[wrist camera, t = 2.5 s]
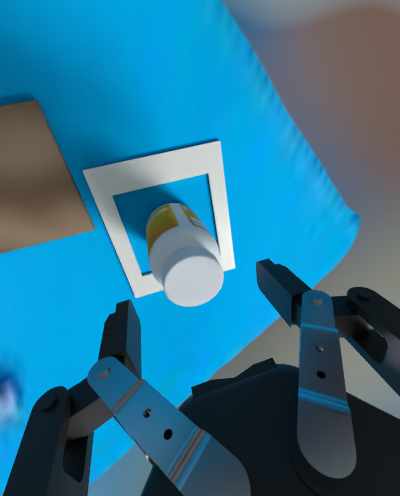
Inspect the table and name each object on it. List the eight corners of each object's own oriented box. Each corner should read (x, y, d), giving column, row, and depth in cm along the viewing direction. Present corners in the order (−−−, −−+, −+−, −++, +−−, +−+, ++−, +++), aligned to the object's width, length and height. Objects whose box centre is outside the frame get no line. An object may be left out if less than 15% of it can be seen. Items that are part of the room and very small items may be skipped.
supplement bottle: (146, 252, 23) (152, 320, 15) (144, 201, 21) (150, 247, 12) (196, 250, 24) (228, 310, 16) (200, 201, 22) (240, 243, 14)
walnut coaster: (-124, 128, 14) (-133, 128, 14) (38, 101, 16) (35, 100, 15) (-22, 256, 19) (-26, 260, 19) (94, 227, 21) (93, 229, 20)
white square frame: (83, 170, 18) (82, 170, 18) (219, 140, 20) (220, 140, 20) (135, 296, 25) (135, 298, 25) (234, 266, 27) (235, 268, 27)
